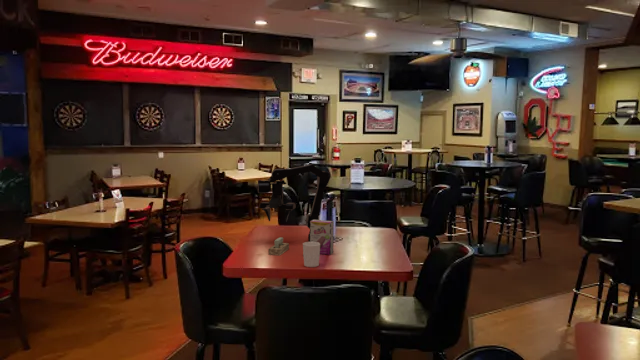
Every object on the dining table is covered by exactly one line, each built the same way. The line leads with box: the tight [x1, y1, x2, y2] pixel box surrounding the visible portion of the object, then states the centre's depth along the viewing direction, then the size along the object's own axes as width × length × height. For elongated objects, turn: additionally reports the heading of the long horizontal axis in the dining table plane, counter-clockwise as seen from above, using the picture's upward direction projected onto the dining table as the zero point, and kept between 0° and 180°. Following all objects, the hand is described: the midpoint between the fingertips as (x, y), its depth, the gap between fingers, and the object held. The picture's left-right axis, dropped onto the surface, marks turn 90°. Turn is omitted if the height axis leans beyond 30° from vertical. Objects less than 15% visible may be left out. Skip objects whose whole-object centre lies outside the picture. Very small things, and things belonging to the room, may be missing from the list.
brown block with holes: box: [267, 242, 290, 256], centre depth 244 cm, size 6×14×3 cm, turn 165°
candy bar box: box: [309, 219, 335, 256], centre depth 241 cm, size 11×5×16 cm, turn 71°
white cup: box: [302, 241, 321, 268], centre depth 220 cm, size 8×8×10 cm
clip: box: [274, 236, 284, 248], centre depth 244 cm, size 2×8×6 cm, turn 165°
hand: (277, 221), depth 259 cm, fingers open, 9 cm apart
